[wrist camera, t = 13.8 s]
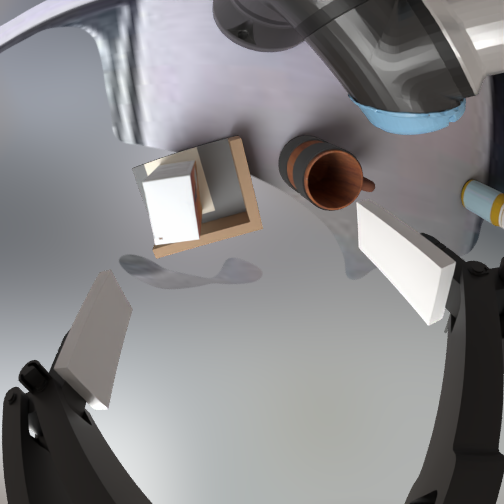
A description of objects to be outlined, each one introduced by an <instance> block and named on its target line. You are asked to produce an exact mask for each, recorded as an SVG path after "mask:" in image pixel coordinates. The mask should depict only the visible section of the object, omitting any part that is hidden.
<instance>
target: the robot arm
mask: <svg viewBox="0 0 504 504" xmlns="http://www.w3.org/2000/svg"><path fill="white" fill-rule="evenodd" d="M213 16H214V20H215V22H216V24H217V26H218V28H219V29H220V30H221V32H222V33H223V34H224V35H225V36H226V37H227V38H229V39H230V40H231V41H233V42H234V43H236V44H238V45H240V46H242V47H245V48H247V49H251V50H255V51H261V52H278V51H284V50H287V49H290V48H293V47H295V46H297V45H299V44H300V43H302V42H303V41H304V40H305V41H306V42H307V43H308V44H309V45H310V47H311V48H312V49H313V50H314V51H315V52H316V53H317V55H318V56H319V57H320V58H321V59H322V60H323V62H324V63H325V64H326V65H327V67H328V68H329V69H330V70H331V71H332V73H333V74H334V75H335V77H336V78H337V79H338V80H339V82H340V83H341V84H342V86H343V87H344V88H345V90H346V91H347V92H348V96H349V98H350V99H351V100H352V101H353V102H354V103H355V104H356V105H358V106H359V108H360V109H361V110H362V112H363V113H364V114H365V116H366V117H367V118H368V120H369V121H370V122H371V123H372V124H373V125H374V126H376V127H378V128H381V129H382V130H384V131H386V132H390V133H394V134H401V135H414V134H424V133H429V132H433V131H437V130H440V129H442V128H445V127H447V126H448V125H449V122H456V121H457V120H458V119H459V118H460V117H461V116H462V115H463V113H464V111H465V107H466V106H465V104H466V99H465V98H467V97H471V96H476V95H478V94H479V91H480V89H481V86H482V83H483V81H484V79H485V78H486V77H487V76H490V75H494V74H499V73H504V0H213ZM356 203H357V218H358V237H359V248H360V250H361V251H362V252H363V253H364V254H365V255H366V256H367V257H368V258H369V259H370V260H371V261H372V262H373V263H374V264H375V265H376V266H377V267H378V269H380V271H381V272H382V273H383V274H384V275H385V276H386V277H387V278H388V279H389V280H390V281H391V283H392V284H393V285H394V286H395V287H396V288H397V289H398V291H399V292H400V293H401V294H402V295H403V296H404V297H405V298H406V300H407V301H408V302H409V303H410V304H411V306H412V307H413V308H414V309H415V310H416V311H417V313H418V314H419V315H420V316H421V317H422V318H423V320H424V321H425V322H426V323H427V325H428V326H429V325H431V324H433V323H435V322H437V321H439V320H441V319H442V317H443V314H444V310H445V307H446V309H447V310H448V311H449V312H450V317H449V319H448V323H447V326H446V329H445V333H446V332H447V330H448V339H447V353H446V361H445V370H444V378H443V384H442V390H441V396H440V401H439V407H438V411H437V416H436V420H435V425H434V430H433V433H432V437H431V440H430V444H429V448H428V451H427V454H426V458H425V461H424V464H423V467H422V470H421V472H420V475H419V477H418V478H417V480H416V482H415V483H414V485H413V487H412V489H411V491H410V493H409V495H408V497H407V499H406V502H405V504H496V501H497V498H498V494H499V490H500V487H501V482H502V478H503V474H504V455H503V454H501V453H500V452H499V449H498V448H499V439H500V431H501V421H502V410H503V384H504V382H503V381H504V375H503V372H504V257H503V258H502V260H501V264H500V267H499V268H492V269H489V268H488V267H487V266H486V265H485V264H483V263H481V262H478V261H468V262H465V261H464V260H462V259H461V258H460V257H459V256H458V255H456V254H455V253H454V252H453V251H451V250H450V249H449V248H446V246H445V245H443V244H442V243H440V242H439V241H438V240H437V239H435V238H434V237H433V236H430V235H427V234H425V233H420V234H419V233H418V232H417V231H415V230H414V229H413V228H411V227H410V226H408V225H407V224H406V223H404V222H403V221H401V220H400V219H398V218H397V217H396V216H394V215H393V214H391V213H390V212H388V211H387V210H385V209H384V208H382V207H381V206H379V205H378V204H376V203H375V202H373V201H372V200H370V199H366V200H362V201H358V202H356ZM132 310H133V309H132V307H131V305H130V304H129V302H128V300H127V298H126V297H125V295H124V293H123V291H122V290H121V288H120V286H119V284H118V282H117V280H116V278H115V276H114V275H113V273H112V271H111V270H107V271H104V272H100V273H99V274H98V276H97V278H96V280H95V282H94V283H93V285H92V287H91V289H90V291H89V293H88V295H87V297H86V299H85V301H84V302H83V305H82V307H81V309H80V310H79V313H78V315H77V317H76V319H75V321H74V323H73V325H72V327H71V329H70V330H69V331H68V333H67V334H66V335H65V336H64V338H63V341H62V343H61V346H60V347H59V350H58V353H57V354H56V357H55V359H54V362H53V364H52V367H51V369H50V371H49V373H48V372H47V371H46V369H45V368H44V367H43V366H42V365H41V364H40V363H39V361H37V360H32V361H30V362H28V363H27V364H26V365H25V366H24V367H23V368H22V370H21V371H20V374H19V381H20V382H21V383H22V385H23V386H24V387H25V388H26V389H27V390H28V391H29V392H28V393H24V392H23V391H22V390H21V389H20V388H19V387H14V388H12V389H10V390H9V391H8V392H7V393H6V396H5V398H4V403H3V420H2V450H3V467H4V479H5V486H6V493H7V500H8V504H152V503H151V502H150V500H149V499H148V498H147V497H146V496H145V494H144V493H143V492H142V491H141V490H140V488H139V487H138V486H137V485H136V483H135V482H134V481H133V480H132V478H131V477H130V476H129V474H128V473H127V471H126V470H125V469H124V467H123V466H122V464H121V463H120V462H119V460H118V459H117V457H116V456H115V454H114V453H113V451H112V450H111V448H110V447H109V445H108V444H107V442H106V440H105V439H104V437H103V436H102V434H101V432H100V431H99V429H98V427H97V425H96V424H95V422H94V420H93V419H92V417H91V415H90V413H89V412H88V411H87V410H86V409H85V405H86V402H87V403H88V404H89V405H90V406H91V407H93V408H94V409H108V408H109V402H110V398H111V393H112V388H113V383H114V379H115V374H116V369H117V366H118V362H119V357H120V353H121V349H122V345H123V341H124V338H125V334H126V331H127V327H128V323H129V320H130V316H131V313H132ZM29 429H30V430H31V431H33V432H34V433H35V438H34V437H32V436H31V435H30V433H29Z"/></svg>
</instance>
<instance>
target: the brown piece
mask: <svg viewBox="0 0 504 504" xmlns="http://www.w3.org/2000/svg"><path fill="white" fill-rule="evenodd" d="M192 160H195V161H196V167H197V176H198V184H199V192H200V199H201V205H202V221H201V233H200V239H198V240H191V241H183V242H176V243H168V244H160V245H154V247H153V252H154V255H155V257H156V258H160V257H164V256H167V255H171V254H174V253H177V252H181V251H184V250H188V249H192V248H195V247H199V246H202V245H205V244H209V243H213V242H216V241H220V240H223V239H227V238H231V237H234V236H238V235H242V234H246V233H249V232H253V231H257V230H260V229H263V227H262V222H261V218H260V214H259V210H258V206H257V201H256V197H255V193H254V189H253V185H252V181H251V176H250V172H249V168H248V164H247V160H246V156H245V152H244V147H243V143H242V139H241V138H240V137H239V136H238V135H237V136H233V137H229V138H226V139H222V140H218V141H214V142H211V143H207V144H204V145H200V146H197V147H193V148H190V149H187V150H184V151H180V152H177V153H174V154H171V155H168V156H165V157H162V158H159V159H156V160H154V161H151V162H148V163H145V164H142V165H140V166H137V167H134V168H132V171H133V173H134V176H135V179H136V182H137V185H138V187H139V190H140V193H141V196H142V199H143V201H144V204H145V207H146V209H147V212H148V207H147V202H146V197H145V192H144V188H143V184H142V182H143V181H144V180H145V179H146V178H147V177H148V176H149V175H150V174H151V173H152V172H153V171H154V170H155V169H156V168H157V167H158V166H159V165H165V164H171V163H177V162H184V161H192ZM148 215H149V212H148ZM149 217H150V216H149Z"/></svg>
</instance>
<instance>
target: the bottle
mask: <svg viewBox="0 0 504 504" xmlns="http://www.w3.org/2000/svg"><path fill="white" fill-rule="evenodd" d="M461 200H462V204H463V206H464V207H465V208H467V209H468V210H470V211H471V212H473V213H475V214H477V215H478V216H480V217H482V218H483V219H485V220H487V221H488V222H490V223H491V224H493V225H495V226H500V227H502V228H503V229H504V194H503V193H501V192H499V191H497V190H495V189H493V188H491V187H489V186H487V185H485V184H482V183H480V182H478V181H476V180H469V181H468V182H466V183H465V185H464V186H463V189H462V193H461Z"/></svg>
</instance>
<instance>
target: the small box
mask: <svg viewBox="0 0 504 504" xmlns="http://www.w3.org/2000/svg"><path fill="white" fill-rule="evenodd" d="M142 184H143V188H144V192H145V197H146V202H147V207H148V212H149V216H150V221H151V226H152V231H153V236H154V242H155V245H160V244H168V243H176V242H183V241H191V240H198V239H200V233H201V221H202V205H201V199H200V192H199V184H198V176H197V167H196V161H195V160H192V161H184V162H177V163H171V164H165V165H159V166H158V167H157V168H156V169H155V170H154V171H153V172H152V173H151V174H150V175H149V176H148V177H147V178H146V179H145V180H144V181H143V182H142Z"/></svg>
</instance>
